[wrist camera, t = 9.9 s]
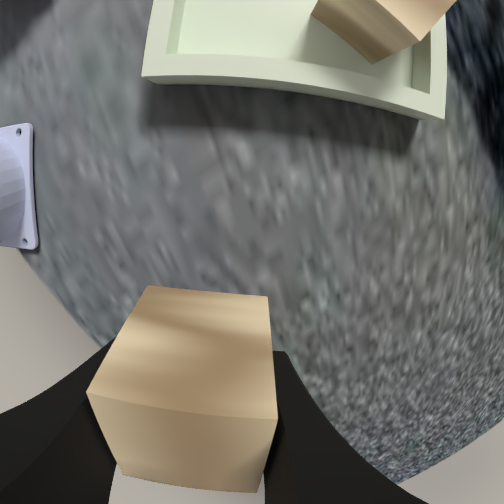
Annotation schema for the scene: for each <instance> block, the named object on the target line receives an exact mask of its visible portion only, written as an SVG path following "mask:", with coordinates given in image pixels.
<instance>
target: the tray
mask: <svg viewBox="0 0 504 504" xmlns="http://www.w3.org/2000/svg"><path fill="white" fill-rule="evenodd" d="M317 1H318V0H154V2H153V7H152V12H151V17H150V22H149V28H148V34H147V40H146V46H145V53H144V60H143V68H142V77H144V78H146V79H148V80H150V81H152V82H154V83H156V84H158V85H161V84H204V85H228V86H243V87H255V88H266V89H275V90H283V91H291V92H298V93H305V94H311V95H317V96H323V97H329V98H334V99H339V100H344V101H349V102H354V103H359V104H363V105H367V106H372V107H376V108H380V109H384V110H388V111H391V112H395V113H399V114H402V115H406V116H409V117H413V118H416V119H419V120H431V119H444V116H445V103H446V81H447V42H446V21H445V14H444V15H443V16H442V17H441V18H440V19H439V20H438V22H437V23H436V24H435V25H434V26H433V27H432V28H431V29H430V31H429V32H428V33H427V34H426V35H425V36H424V37H423V39H422V40H421V41H420V42H418V43H415V44H413V45H411V46H409V47H407V48H405V49H403V50H400V51H398V52H396V53H394V54H392V55H390V56H388V57H386V58H384V59H382V60H380V61H378V62H376V63H375V64H373V65H372V64H371V63H370V62H369V61H368V60H366V59H365V58H364V57H363V56H362V55H361V54H360V53H359V52H357V51H356V50H355V49H354V48H353V47H352V46H350V45H349V44H348V43H347V42H346V41H345V40H343V39H342V38H341V37H340V36H338V35H337V34H336V33H335V32H333V31H332V30H331V29H330V28H328V27H327V26H326V25H324V24H323V23H322V22H320V21H319V20H318V19H316V18H315V17H314V16H312V15H311V12H312V10H313V9H314V7H315V5H316V3H317Z"/></svg>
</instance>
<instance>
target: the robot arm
mask: <svg viewBox="0 0 504 504" xmlns="http://www.w3.org/2000/svg"><path fill="white" fill-rule="evenodd" d="M20 130H21V131H22V132H21V135H20ZM26 240H27V242H28V243H27V242H26ZM0 246H6V247H14V248H22V249H30V250H33V249H35V248H36V247H37V246H38V234H37V226H36V216H35V204H34V189H33V127H32V125H31V124H30V123H23V124H18V125H12V126H7V127H2V128H0ZM116 337H117V336H116ZM116 337H115V338H114V339H113V340H111V341H110V342H109V343H108V344H106V345H105V346H104V347H103V348H102V349H100V350H99V351H98V352H97V353H95V354H94V355H93V356H92V357H91V358H89V359H88V360H87V361H86V362H84V363H83V364H82V365H80V366H79V367H78V368H77V369H75V370H74V371H73V372H71V373H70V374H69V375H67V376H66V377H64V378H63V379H62V380H60V381H59V382H57V383H56V384H55V385H53V386H52V387H50V388H49V389H47V390H45V391H44V392H42V393H41V394H39V395H37V396H35V397H34V398H32V399H30V400H28V401H27V402H25V403H23V404H21V405H19V406H16V407H14V408H12V409H10V410H8V411H6V412H4V413H1V414H0V504H108V502H109V496H110V491H111V486H112V481H113V476H114V471H115V468H116V464H117V462H116V460H115V458H114V456H113V454H112V452H111V450H110V448H109V446H108V443H107V441H106V439H105V437H104V435H103V432H102V430H101V428H100V426H99V423H98V421H97V418H96V416H95V414H94V411H93V409H92V406H91V404H90V401H89V398H88V396H87V393H86V391H87V389H88V387H89V386H90V384H91V382H92V380H93V378H94V376H95V374H96V373H97V371H98V369H99V367H100V365H101V364H102V362H103V360H104V358H105V356H106V355H107V353H108V351H109V349H110V348H111V346H112V344H113V342H114V341H115V339H116ZM272 353H273V365H274V376H275V388H276V400H277V412H278V421H277V425H276V429H275V432H274V436H273V440H272V443H271V447H270V450H269V454H268V457H267V461H266V464H265V468H264V471H263V473H264V484H265V504H428V503H426V502H424V501H422V500H421V499H419V498H417V497H415V496H413V495H411V494H410V493H408V492H407V491H405V490H404V489H402V488H401V487H399V486H398V485H396V484H395V483H393V482H392V481H390V480H389V479H388V478H387V477H385V476H384V475H383V474H382V473H380V472H379V471H378V470H377V469H375V468H374V467H373V466H372V465H371V464H369V463H368V462H367V461H366V460H365V459H364V458H363V457H362V456H360V455H359V454H358V453H357V452H356V451H355V450H354V449H353V448H352V447H351V446H350V445H349V444H348V443H347V441H346V440H345V439H344V438H343V437H342V436H341V435H340V434H339V433H338V432H337V430H336V429H335V428H334V427H333V426H332V424H331V423H330V422H329V420H328V419H327V418H326V417H325V415H324V414H323V413H322V411H321V410H320V409H319V407H318V406H317V404H316V403H315V401H314V400H313V398H312V397H311V395H310V394H309V392H308V391H307V389H306V388H305V386H304V384H303V383H302V381H301V379H300V378H299V376H298V374H297V372H296V371H295V369H294V367H293V365H292V363H291V361H290V359H289V357H288V355H287V354H286V353H285V352H284V351H272Z"/></svg>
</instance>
